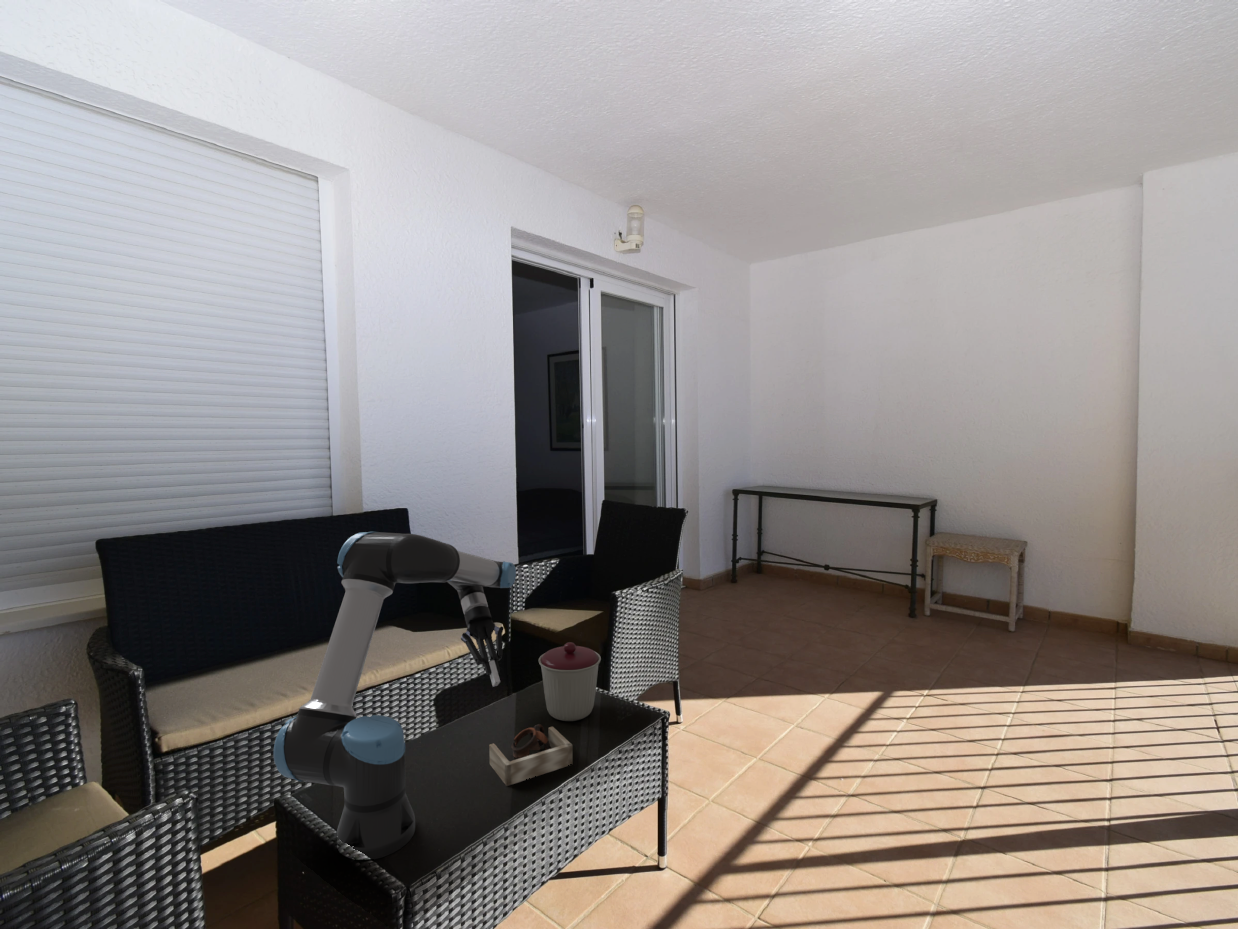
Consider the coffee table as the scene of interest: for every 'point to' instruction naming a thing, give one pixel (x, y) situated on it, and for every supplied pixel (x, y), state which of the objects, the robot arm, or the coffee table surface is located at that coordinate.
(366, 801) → the robot arm
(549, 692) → the canister
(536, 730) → the pottery mug
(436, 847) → the coffee table surface
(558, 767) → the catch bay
